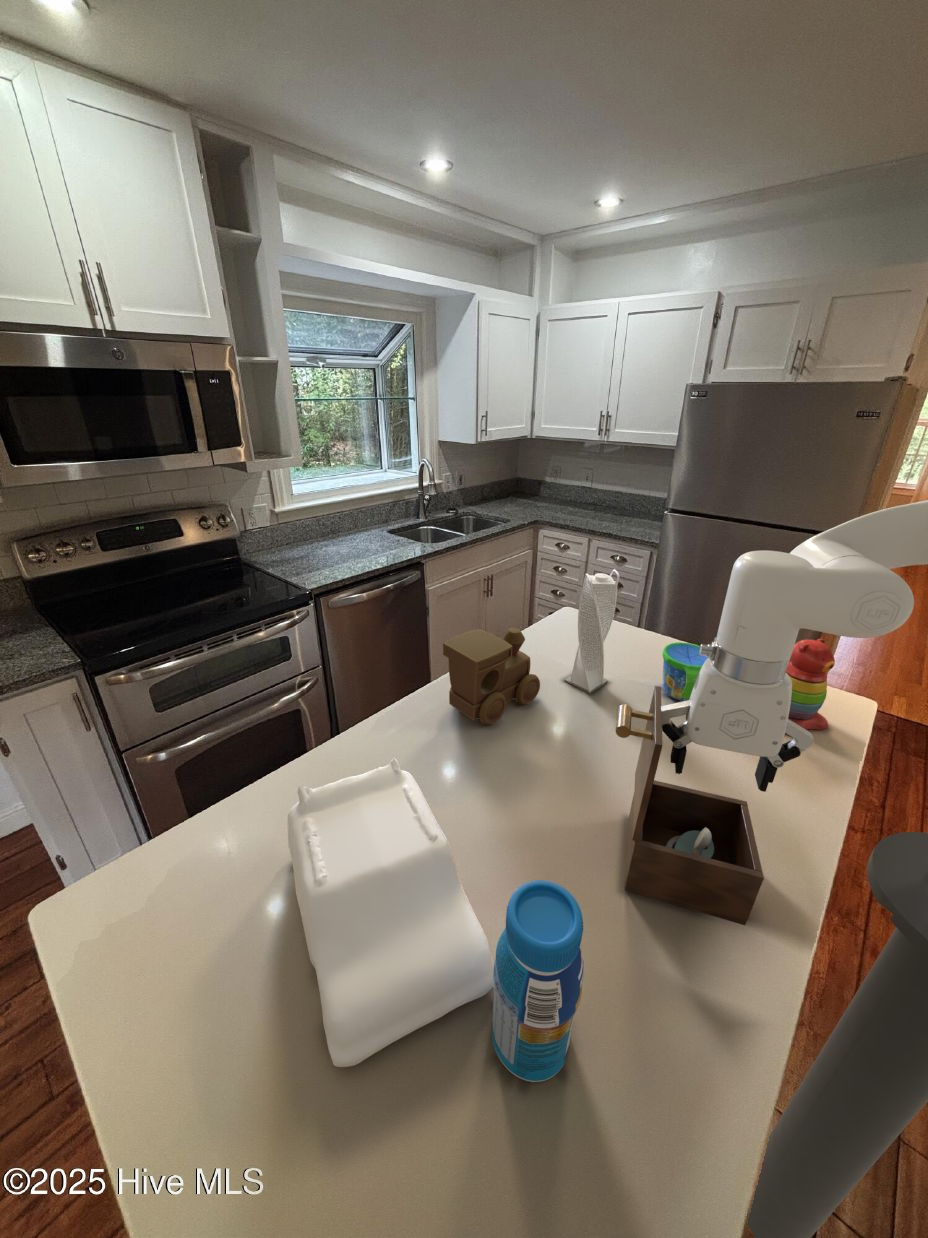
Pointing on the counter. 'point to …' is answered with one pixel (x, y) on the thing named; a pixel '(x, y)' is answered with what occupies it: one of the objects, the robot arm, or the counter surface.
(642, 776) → the lid
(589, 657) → the skyscraper
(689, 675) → the snack cup
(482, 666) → the wooden toy train
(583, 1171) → the counter surface
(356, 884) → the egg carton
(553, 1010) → the beverage bottle
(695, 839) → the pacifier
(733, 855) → the chest
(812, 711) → the stacking bear
